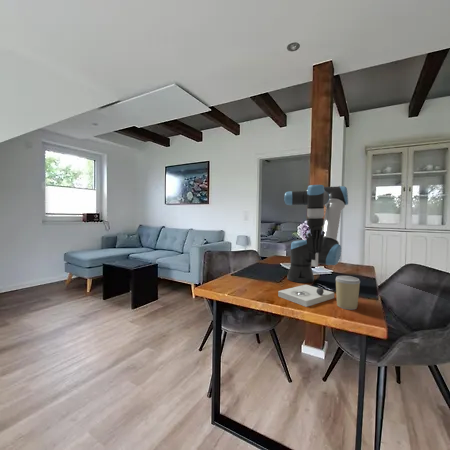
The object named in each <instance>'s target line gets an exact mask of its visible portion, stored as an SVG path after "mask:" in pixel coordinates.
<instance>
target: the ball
mask: <svg viewBox="0 0 450 450" xmlns="http://www.w3.org/2000/svg"><path fill="white" fill-rule="evenodd" d="M317 288H318V289H317V293H318V294H319V295H322V294H323V293H324V291H323V290H324V288H321V287H317Z"/></svg>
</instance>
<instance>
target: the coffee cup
mask: <svg viewBox="0 0 450 450" xmlns="http://www.w3.org/2000/svg"><path fill="white" fill-rule="evenodd" d="M360 284H361V280H360V278H358V277H355V276H351V275H337V276H336V277H335V293H336V294H335V295H336V306H337V307H339V308H341V309H343V310H351V311H352V310H357V308H358V305H359V296H360V295H359V293H360Z"/></svg>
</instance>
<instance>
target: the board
mask: <svg viewBox="0 0 450 450" xmlns="http://www.w3.org/2000/svg"><path fill="white" fill-rule="evenodd" d="M318 288H319V287H316V286H312V285H309V284H303V285H298V286H294V287H289V288H285V289H281V290H278V291H277V293H278V294H277V295H278V297H279V298H281V299H284V300H286V301H289V302H293V303H294V304H298V305H300V306H303V307H306V308H308V307H311V306H314V305H317V304H320V303H323V302H326V301H329V300H333V299H335V292H333V291H330V290H328V289H327V290H326V289H323V291H324V293H323V294H322V295H319V294H318V293H317V289H318ZM299 292H302V293H303V294H304V295H298V293H299Z"/></svg>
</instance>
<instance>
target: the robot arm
mask: <svg viewBox="0 0 450 450" xmlns="http://www.w3.org/2000/svg"><path fill="white" fill-rule="evenodd" d="M348 193H349V192H348V188H347V186H344V185H343V186H342V185H339V186H325V185H323V184H310V185H308V186H307V190H293V191H292V190H291V191H286V192H285V193H284V195H283V196H284V198H283V199H284V203H285V205H287V206H306V207H307V210H306V212H307V215H306V216H307V219H306V225H307V226H308V230H307V232H305V233H304V236H305V239H301V240H298V239H297V240H294V241H291V244H290V266H289V269H288V273H287V274H286V275H287V281H290V282H293V283H300V284H301V283H303V284H306V283H313V282H315V275H314V272H313V269H312V267H314V268H318V267H319V265H326V266H336V265H337V264H338V263H339V262H340V259H341V254H342V253H341V252H342V245H341V244H340V241H338V239H337V238H338V233H339V227H340V222H341V221H340V219H341V215H342V210H344V208H345V206H347V205H349V196H348Z"/></svg>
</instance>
